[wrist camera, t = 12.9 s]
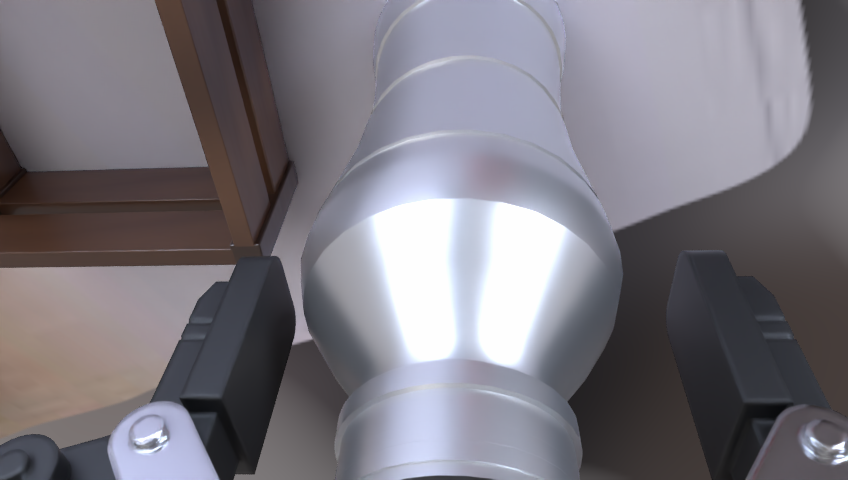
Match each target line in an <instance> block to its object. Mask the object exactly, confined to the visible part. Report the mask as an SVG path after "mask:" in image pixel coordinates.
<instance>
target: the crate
mask: <svg viewBox="0 0 848 480" xmlns="http://www.w3.org/2000/svg"><path fill="white" fill-rule="evenodd" d="M155 3H156V6H157V9H158V12H159V15H160V18H161V21H162V24H163V27H164V30H165V33H166V36H167V40H168V43H169V46H170V49H171V52H172V55H173V58H174V61H175V64H176V67H177V70H178V73H179V77H180V80H181V83H182V86H183V89H184V92H185V95H186V98H187V101H188V104H189V107H190V110H191V113H192V117H193V120H194V123H195V126H196V129H197V132H198V135H199V138H200V141H201V144H202V147H203V150H204V153H205V157H206V160H207V163H208V166H209V167H192V168H156V169H119V170H83V171H46V172H27V171H26V169H21V167H20V165H19V164H18V162H17V160H16V158H15V156H14V154H13V152H12V151H11V149H10V147H9V145H8V143H7V141H6V139H5V138H4V136H3V134H2V132H1V130H0V268H17V267H92V266H166V265H236V264H237V262H238V260H239V259H240V258H241V257H255V256H271V253H272V251H273V248H274V245H275V243H276V240H277V237H278V235H279V232H280V229H281V227H282V224H283V221H284V219H285V216H286V213H287V211H288V208H289V206H290V203H291V200H292V198H293V195H294V192H295V190H296V187H297V184H298V179H297V175H296V170H295V166H294V162H293V161H289V159H288V155H287V151H286V147H285V142H284V138H283V134H282V129H281V125H280V121H279V116H278V112H277V108H276V104H275V99H274V95H273V91H272V86H271V82H270V78H269V74H268V69H267V65H266V61H265V56H264V52H263V48H262V43H261V39H260V35H259V31H258V26H257V22H256V18H255V13H254V9H253V5H252V1H251V0H155Z"/></svg>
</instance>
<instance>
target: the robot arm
mask: <svg viewBox="0 0 848 480" xmlns="http://www.w3.org/2000/svg"><path fill="white" fill-rule="evenodd" d="M666 323H667V324H666V325H667V332H668V337H669V340H670V344H671V347H672V350H673V353H674V357H675V360H676V363H677V367H678V370H679V373H680V377H681V380H682V383H683V386H684V389H685V393H686V396H687V399H688V403H689V406H690V409H691V413H692V416H693V419H694V422H695V426H696V429H697V432H698V436H699V439H700V442H701V445H702V449H703V452H704V455H705V459H706V462H707V465H708V468H709V472H710V475H711V478H712V480H848V418H847V417H846V416H844V415H842V414H841V413H838V412H837V411H834V410H832V409H831V407H830V405H829V404H828V402H827V400H826V398H825V396H824V394H823V392H822V390H821V388H820V386H819V384H818V382H817V380H816V378H815V376H814V374H813V372H812V370H811V368H810V366H809V364H808V362H807V360H806V358H805V356H804V354H803V352H802V350H801V348H800V346H799V344H798V342H797V340H796V339H794V337H793V336H794V335H793V333H792V330H791V328H790V326H789V324H788V322H787V321H785V317H784V315H783V313H782V311H781V309H780V307H779V305H778V303H777V301H776V299H775V297H774V295H773V294H772V293H771V292H770V291H768V290H767V289H766V288H765V287H764V286H763V285H762V284H761V283H760V282H758V281H757V280H756V279H755V278H754V277H753V276H736V274H735V272H734V270H733V268H732V265H731V263H730V262H729V259H728V257H727V255H726V253H725V252H724V251H722V250H705V251H704V250H703V251H702V250H701V251H700V250H697V251H682V252H681V253H680V254H679V256H678V260H677V264H676V269H675V273H674V277H673V282H672V286H671V291H670V295H669V299H668V304H667V310H666ZM295 326H296V316H295V309H294V305H293V301H292V298H291V294H290V291H289V287H288V284H287V280H286V277H285V273H284V269H283V266H282V263H281V260H280V259H279V257H277V256H255V257H241V258H240V259H239V260H238V262H237V264H236V266H235V268H234V271H233V273H232V275H231V278H230V280H229V282H215V283H214V284H213V285H212V286H211V287H210V288H209V289H208V290H207V291H206V292H205V293H204V294H203V295H202V296H201V297H200V298H199V299H198V301H197V303H196V305H195V308H194V310H193V312H192V314H191V316H190V318H189V324H187V325H186V327H185V329H184V331H183V333H182V335H181V337H182V339H181V340H179V342H178V344H177V346H176V348H175V350H174V353H173V355H172V357H171V359H170V361H169V363H168V365H167V368H166V370H165V372H164V374H163V376H162V378H161V380H160V382H159V385H158V387H157V389H156V391H155V393H154V395H153V397H152V399H151V401H150V403H149V404H146V405H143V406H141V407H139V408H137V409H136V410H134V411H132V412H131V413H129V414H128V415H127V416H125V417H124V418H123V419H122V420H121V421H120V422H119V423H118V425H117V426H116V427H115V429H114V430H113V432H112V434H111V435H108V436H105V437H102V438H99V439H95V440H92V441H88V442H84V443H81V444H77V445H74V446H70V447H66V448H62V449H59V448H58V446H57V445H56V444H55V442H54V441H53V440H52V439H51V438H49V437H47V436H44V435H40V434H31V435H24V436H20V437H17V438H15V439H12V440H10V441H8V442H6V443H4V444H2V445H0V480H233V479H234V476H235V474H255V471H256V467H257V464H258V460H259V457H260V454H261V450H262V447H263V443H264V439H265V436H266V433H267V429H268V426H269V422H270V419H271V415H272V412H273V408H274V405H275V401H276V398H277V394H278V391H279V387H280V384H281V381H282V377H283V374H284V370H285V366H286V363H287V360H288V356H289V353H290V349H291V346H292V342H293V339H294V335H295Z"/></svg>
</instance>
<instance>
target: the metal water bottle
mask: <svg viewBox="0 0 848 480" xmlns="http://www.w3.org/2000/svg"><path fill="white" fill-rule="evenodd" d="M565 48H566V34H565V28H564V21H563V18H562V16H561V13H560V10H559V8H558V5H557V3H556V2H555V0H388V1H387V3H386V5H385V6H384V8H383V10H382V12H381V14H380V17H379V20H378V23H377V26H376V30H375V38H374V51H373V65H374V73H375V81H376V91H375V100H374V107H373V110H372V113H371V116H370V118H369V120H368V123H367V125H366V128H365V130H364V133H363V135H362V138H361V141H360V143H359V146H358V148H357V150H356V151H355V153H354V155H353V156H352V158H351V160H350V161H349V163H348V165H347V166H346V168H345V170H344V171H343V173H342V174H341V176H340V178H339V179H338V181H337V183H336V184H335V186H334V188H333V189H332V191H331V193H330V194H329V196H328V198H327V199H326V201H325V202H324V204H323V206H322V207H321V209H320V210H319V213H318V215H317V217H316V220H315V222H314V224H313V226H312V228H311V231H310V233H309V235H308V237H307V241H306V244H305V247H304V251H303V254H302V257H301V288H302V299H303V309H304V315H305V319H306V322H307V326H308V330H309V333H310V334H311V336H312V338H313V340H314V342H315V343H316V345H317V347H318V349H319V350H320V352H321V354H322V356H323V358H324V359H325V361H326V363H327V365H328V366H329V368H330V370H331V372H332V373H333V375H334V377H335V379H336V380H337V382H338V383H339V384H340V385H341V387H342V388H343V390H344V391H345V392H346V393H347V395H348V396H349V398H348V400H346V402H345V403H344V405H343V408H342V410H341V412H340V414H339V419H338V424H337V430H336V436H335V447H334V452H335V456H336V459H337V463H338V464H337V470H336V477H335V480H580V477H579V469H580V466H581V461H582V453H583V452H582V446H581V440H580V434H579V428H578V424H577V419H576V416H575V414H574V412H573V411H572V409H571V407H570V406H569V404H568V403H567V401H568V400H569V399H570V398H571V397H572V395H573V394H574V393H575V392H576V391H577V389H578V388H579V387H580V386H581V384H582V383H583V382H584V381H585V380H586V378H587V376H588V374H589V373H590V371H591V370H592V368H593V366H594V365H595V363H596V362H597V360H598V358H599V357H600V355H601V353H602V352H603V350H604V348H605V346H606V344H607V342H608V340H609V338H610V336H611V333H612V331H613V329H614V324H615V318H616V313H617V308H618V303H619V297H620V291H621V285H622V279H623V271H622V262H621V254H620V250H619V247H618V245H617V242H616V240H615V237H614V234H613V231H612V228H611V225H610V223H609V221H608V218H607V216H606V214H605V211H604V209H603V206H602V204H601V202H600V201H599V200H598V198H597V195H596V193H595V191H594V189H593V187H592V185H591V184H590V182H589V180H588V178H587V176H586V174H585V172H584V170H583V168H582V166H581V164H580V162H579V160H578V158H577V156H576V155H575V153H574V151H573V148H572V145H571V142H570V138H569V135H568V132H567V128H566V126H565V124H564V119H563V116H562V112H561V98H560V83H561V80H562V76H563V73H564V62H565Z"/></svg>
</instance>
